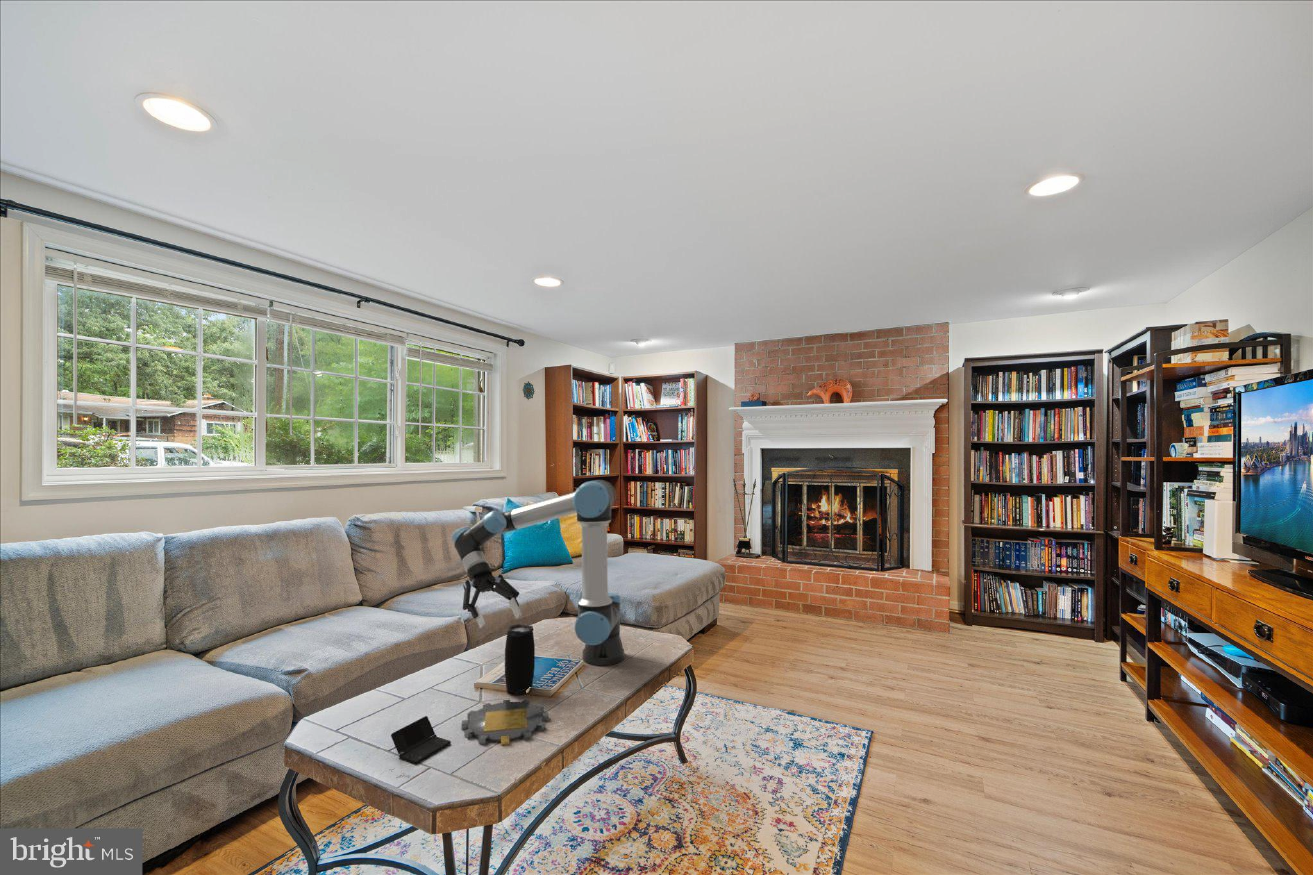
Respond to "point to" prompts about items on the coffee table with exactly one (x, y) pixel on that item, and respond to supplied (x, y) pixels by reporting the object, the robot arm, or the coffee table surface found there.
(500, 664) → the coffee table surface
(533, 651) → the portable speaker
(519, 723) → the sprocket plate
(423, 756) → the handheld gaming console
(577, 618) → the robot arm
